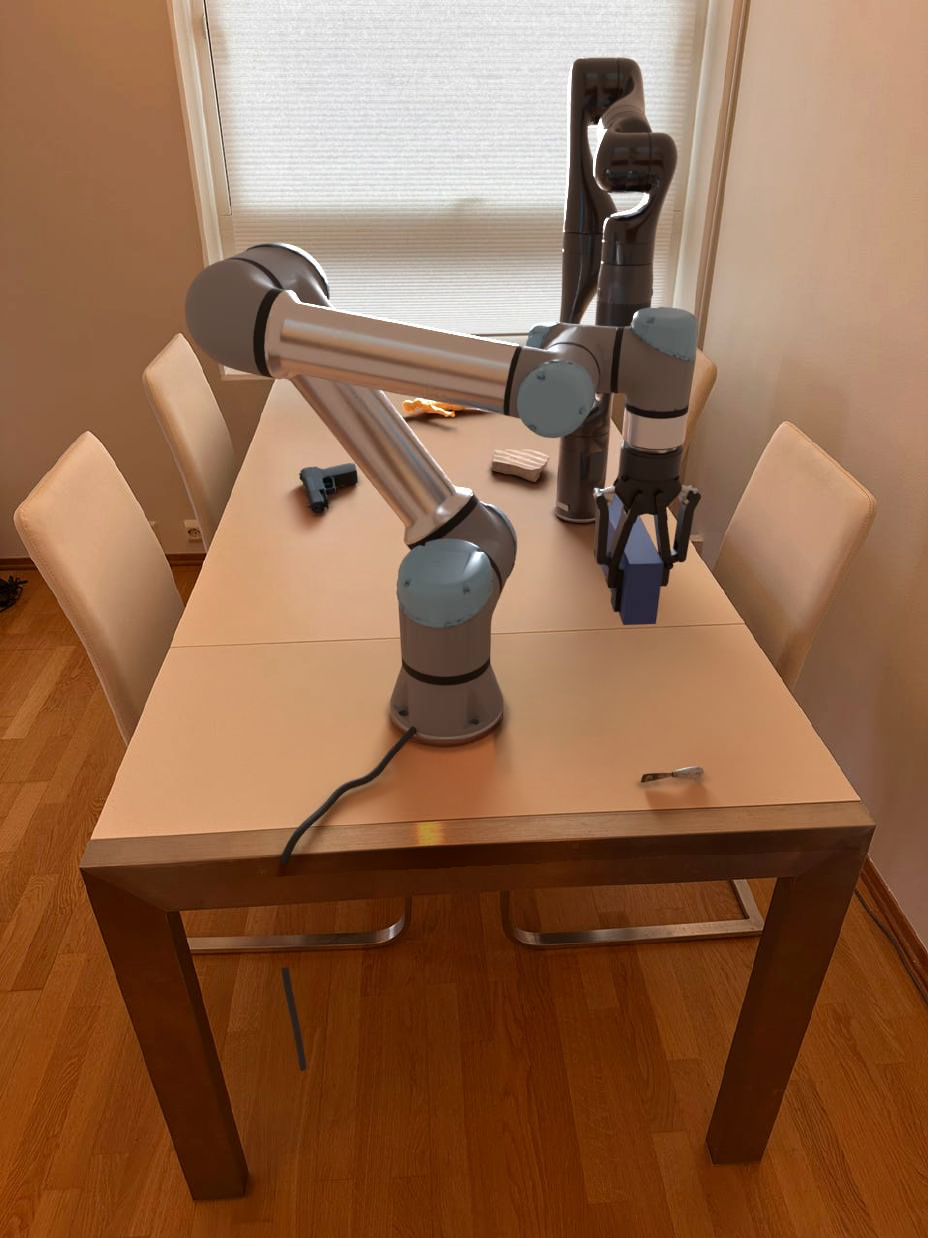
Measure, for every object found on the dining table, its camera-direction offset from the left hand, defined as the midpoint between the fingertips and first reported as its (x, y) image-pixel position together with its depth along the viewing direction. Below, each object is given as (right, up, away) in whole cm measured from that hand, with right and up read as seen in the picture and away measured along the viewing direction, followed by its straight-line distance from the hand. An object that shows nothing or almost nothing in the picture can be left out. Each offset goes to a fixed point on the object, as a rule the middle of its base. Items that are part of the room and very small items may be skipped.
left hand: (633, 606), depth 121 cm
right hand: (-1, +29, +11) cm, 31 cm away
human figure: (-26, +51, +105) cm, 120 cm away
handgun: (-50, +24, +61) cm, 82 cm away
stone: (-11, +30, +71) cm, 78 cm away
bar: (0, +3, +7) cm, 7 cm away
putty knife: (+2, -22, -12) cm, 25 cm away
